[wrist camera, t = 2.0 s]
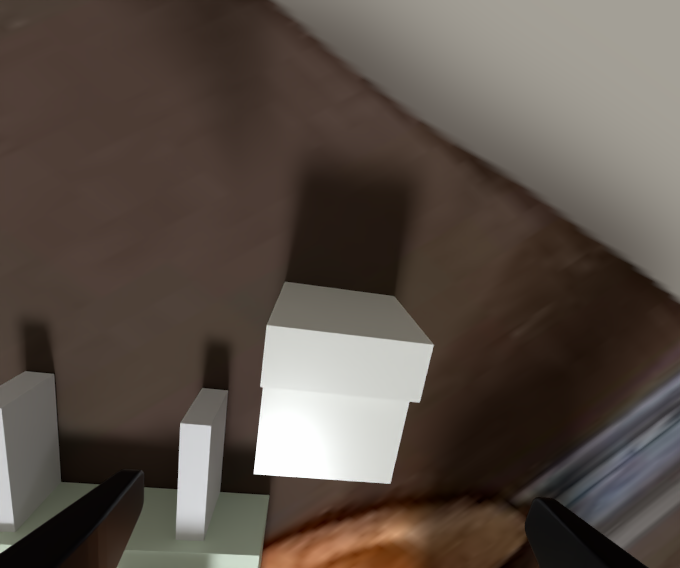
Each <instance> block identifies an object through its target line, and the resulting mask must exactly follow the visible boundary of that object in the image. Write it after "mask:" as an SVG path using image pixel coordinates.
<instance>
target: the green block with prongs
mask: <svg viewBox="0 0 680 568" xmlns="http://www.w3.org/2000/svg"><path fill="white" fill-rule="evenodd" d="M227 399H228V390H218V389H208V388H202V389H201V391H200V392H199V394H198V396H197V397H196V399H195V400H194V402H193V404H192V405H191V407H190V408H189V410H188V412H187V413H186V415H185V416H184V418H183V420H182V421H181V423H180V442H179V467H178V489H164V488H148V487H144V504H143V508H142V511H141V514H140V516H139V518H138V521H137V523H136V525H135V528H134V530H133V532H132V534H131V537H130V539H129V541H128V543H127V546H126V548H125V550H124V552H123V555H122V557H121V559H120V562H119V564H118V566H117V568H260V567H261V559H262V551H263V543H264V535H265V527H266V519H267V511H268V503H269V495H259V494H243V493H227V492H220V487H221V474H222V462H223V449H224V437H225V424H226V412H227ZM98 485H100V484H85V483H69V482H61V472H60V456H59V441H58V425H57V409H56V394H55V378H54V374H50V373H39V372H29V371H25V372H23V373H21V374H20V375H18V376H16V377H14V378H13V379H11V380H9V381H7V382H6V383H4V384H2V385H1V386H0V553H1V552H3V551H4V550H6V549H7V548H9V547H10V546H12V545H13V544H14V543H16V542H17V541H19V540H20V539H22V538H23V537H25V536H26V535H27V534H29V533H30V532H32V531H33V530H35V529H36V528H38V527H39V526H40V525H42V524H43V523H45V522H46V521H48V520H49V519H51V518H52V517H53V516H55V515H56V514H58V513H59V512H61V511H62V510H64V509H65V508H66V507H68V506H69V505H71V504H72V503H74V502H75V501H77V500H78V499H79V498H81V497H82V496H84V495H85V494H87V493H88V492H90V491H91V490H92V489H94V488H95V487H97V486H98Z"/></svg>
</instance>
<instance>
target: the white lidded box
mask: <svg viewBox="0 0 680 568" xmlns="http://www.w3.org/2000/svg"><path fill="white" fill-rule="evenodd" d="M433 346H434V345H433V343H432V342H431V341H430V340H429V338H428V337H427V336H426V335H425V333H424V332H423V331H422V330H421V329H420V327H419V326H418V325H417V324H416V322H415V321H414V320H413V319H412V317H411V316H410V315H409V314H408V313H407V311H406V310H405V309H404V308H403V306H402V305H401V304H400V303H399V301H398V300H397V299H396V298H395V297H394V296H390V295H382V294H374V293H367V292H359V291H352V290H344V289H337V288H329V287H321V286H314V285H306V284H299V283H291V282H285V283H284V285H283V288H282V290H281V292H280V295H279V297H278V300H277V302H276V304H275V307H274V309H273V312H272V314H271V316H270V319H269V321H268V323H267V328H266V338H265V347H264V356H263V366H262V375H261V384H260V387H263V392H262V401H261V410H260V419H259V429H258V438H257V447H256V456H255V465H254V474H260V475H274V476H288V477H303V478H317V479H331V480H345V481H359V482H373V483H387V484H390V483H391V479H392V474H393V470H394V466H395V461H396V457H397V453H398V449H399V444H400V440H401V436H402V431H403V427H404V423H405V419H406V414H407V410H408V406H409V402H419V403H420V400H421V395H422V391H423V387H424V383H425V379H426V375H427V371H428V366H429V362H430V358H431V354H432V350H433Z"/></svg>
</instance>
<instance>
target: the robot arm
mask: <svg viewBox="0 0 680 568" xmlns="http://www.w3.org/2000/svg"><path fill="white" fill-rule="evenodd" d="M143 504H144V472H143V471H142V470H136V469H122V470H120V471H118V472H117V473H116V474H114V475H113V476H111V477H110V478H108V479H107V480H105V481H104V482H103V483H101V484H100V485H98V486H97V487H95V488H94V489H92V490H91V491H90V492H88V493H87V494H85V495H84V496H82V497H81V498H79V499H78V500H77V501H75V502H74V503H72V504H71V505H69V506H68V507H66V508H65V509H64V510H62V511H61V512H59V513H58V514H56V515H55V516H53V517H52V518H51V519H49V520H48V521H46V522H45V523H43V524H42V525H40V526H39V527H38V528H36V529H35V530H33V531H32V532H30V533H29V534H27V535H26V536H25V537H23V538H22V539H20V540H19V541H17V542H16V543H14V544H13V545H12V546H10V547H9V548H7V549H6V550H4V551H3V552H1V553H0V568H117V566H118V564H119V562H120V559H121V557H122V555H123V552H124V550H125V548H126V546H127V543H128V541H129V539H130V537H131V534H132V532H133V530H134V528H135V525H136V523H137V521H138V518H139V516H140V514H141V511H142V508H143ZM525 532H526V536H527V538H528V541H529V543H530V546H531V548H532V551H533V553H534V555H535V558H536V560H537V563H538V565H539V568H648V567H647V566H645V565H644V564H642V563H641V562H640V561H638V560H637V559H636V558H634V557H633V556H631V555H630V554H629V553H627V552H626V551H625V550H623V549H622V548H621V547H619V546H618V545H616V544H615V543H614V542H612V541H611V540H610V539H608V538H607V537H605V536H604V535H603V534H601V533H600V532H599V531H597V530H596V529H595V528H593V527H592V526H590V525H589V524H588V523H586V522H585V521H584V520H582V519H581V518H580V517H578V516H577V515H575V514H574V513H573V512H571V511H570V510H569V509H567V508H566V507H564V506H563V505H562V504H560V503H559V502H558V501H556V500H554V499H552V498H543V497H536V498H535V499H534V500H533V502H532V504H531V507H530V510H529V513H528V515H527V518H526V521H525Z"/></svg>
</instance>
